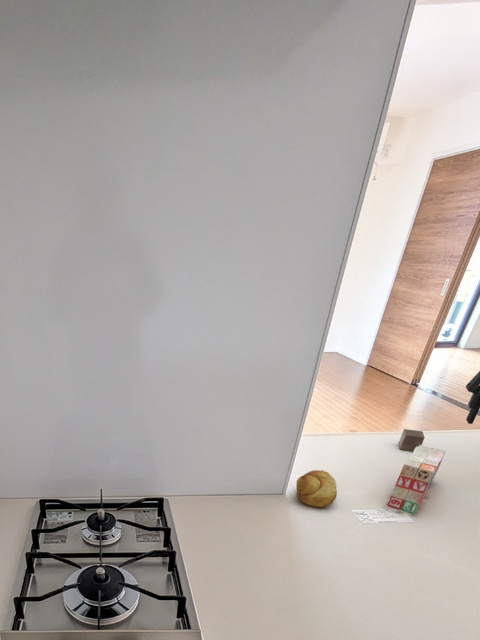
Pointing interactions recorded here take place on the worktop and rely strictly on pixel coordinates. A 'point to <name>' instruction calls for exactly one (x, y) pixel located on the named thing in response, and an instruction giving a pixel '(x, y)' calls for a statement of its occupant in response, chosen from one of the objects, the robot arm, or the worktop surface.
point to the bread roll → (316, 488)
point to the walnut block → (411, 439)
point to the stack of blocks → (416, 478)
